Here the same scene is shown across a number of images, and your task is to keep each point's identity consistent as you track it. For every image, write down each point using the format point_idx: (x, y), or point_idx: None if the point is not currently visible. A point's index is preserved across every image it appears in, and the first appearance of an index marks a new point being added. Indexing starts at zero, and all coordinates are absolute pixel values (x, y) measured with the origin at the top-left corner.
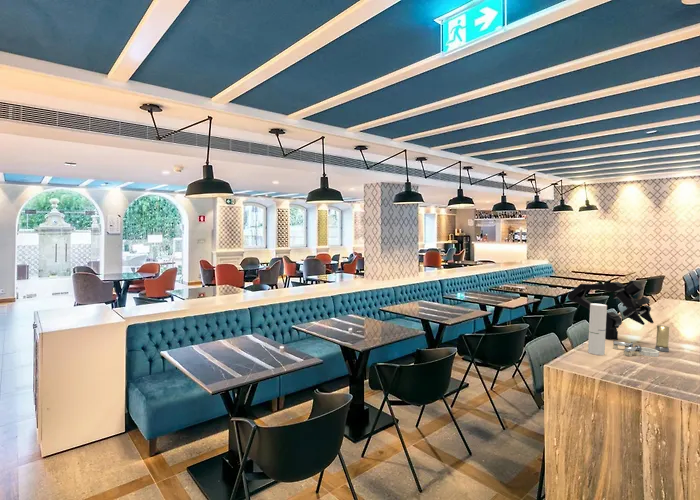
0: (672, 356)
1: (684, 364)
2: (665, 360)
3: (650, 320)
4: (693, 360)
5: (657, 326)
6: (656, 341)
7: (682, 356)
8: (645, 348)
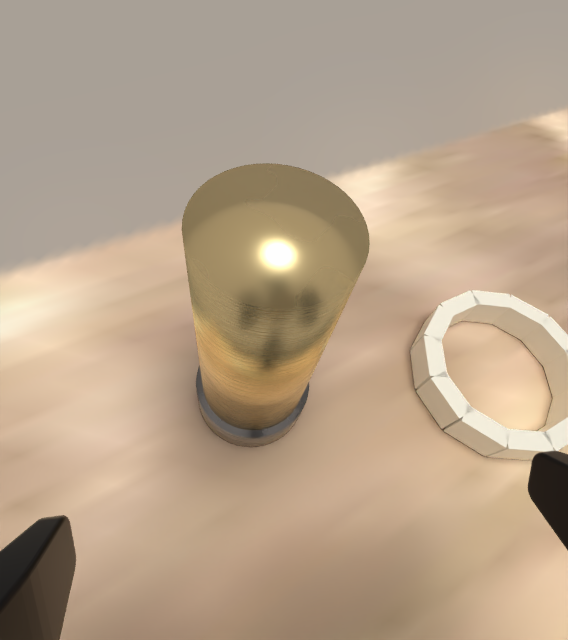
0: None
1: (440, 181)
2: (488, 247)
3: (36, 627)
4: None
5: (353, 285)
6: (297, 397)
7: None
8: (470, 409)
